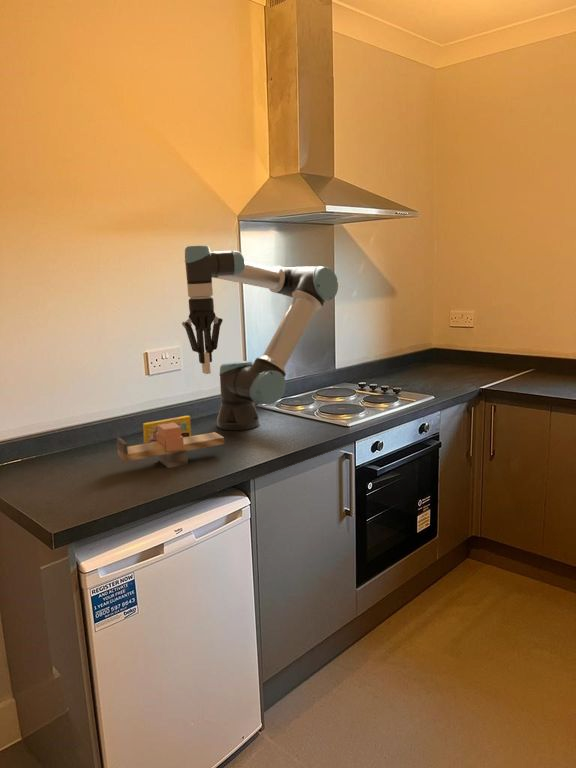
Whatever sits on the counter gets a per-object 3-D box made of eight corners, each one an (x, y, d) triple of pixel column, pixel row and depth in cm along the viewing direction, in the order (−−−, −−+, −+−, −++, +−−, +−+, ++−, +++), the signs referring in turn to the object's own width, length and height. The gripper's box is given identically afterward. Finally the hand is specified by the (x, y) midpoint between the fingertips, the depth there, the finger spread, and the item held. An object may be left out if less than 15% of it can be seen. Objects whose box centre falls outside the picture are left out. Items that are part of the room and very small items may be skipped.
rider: (173, 441, 178) (172, 421, 177) (183, 448, 171) (182, 428, 169) (157, 444, 176) (155, 423, 175) (167, 451, 168) (165, 430, 167)
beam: (215, 450, 185) (213, 422, 183) (225, 457, 178) (224, 428, 177) (118, 467, 170) (116, 437, 169) (126, 476, 164) (123, 444, 162)
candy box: (146, 449, 187) (144, 424, 186) (143, 448, 189) (141, 423, 187) (192, 440, 197) (190, 415, 195) (188, 438, 199) (187, 414, 197)
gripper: (214, 295, 187) (219, 368, 193) (175, 298, 181) (182, 374, 186) (225, 296, 181) (230, 371, 186) (185, 299, 174) (192, 378, 180)
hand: (206, 373), depth 186 cm, fingers closed
